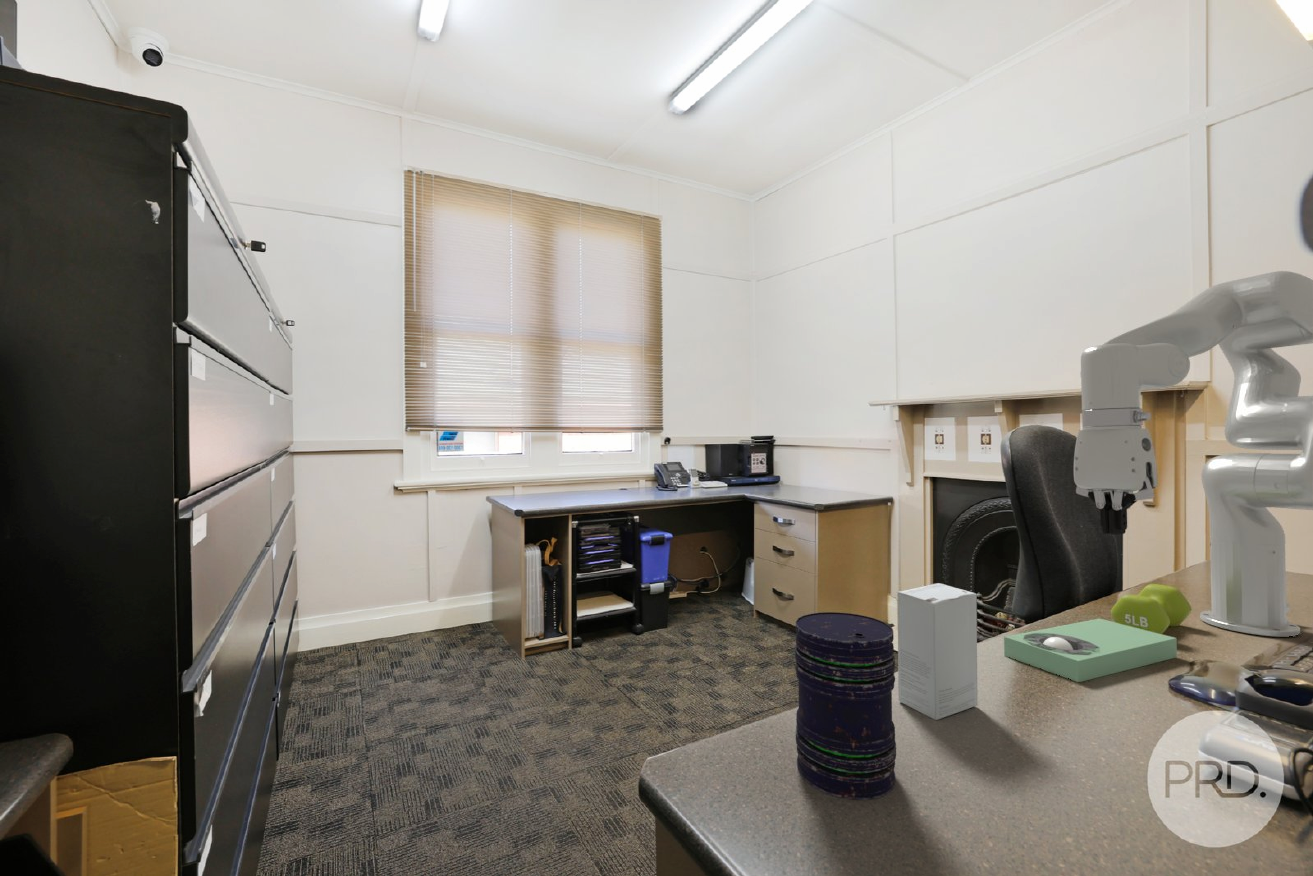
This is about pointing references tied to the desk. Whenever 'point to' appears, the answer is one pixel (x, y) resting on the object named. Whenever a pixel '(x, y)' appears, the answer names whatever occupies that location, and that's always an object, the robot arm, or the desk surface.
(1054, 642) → the white egg
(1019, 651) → the putting mat
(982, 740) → the desk surface
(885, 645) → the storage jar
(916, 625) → the skincare box
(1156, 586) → the dumbbell
